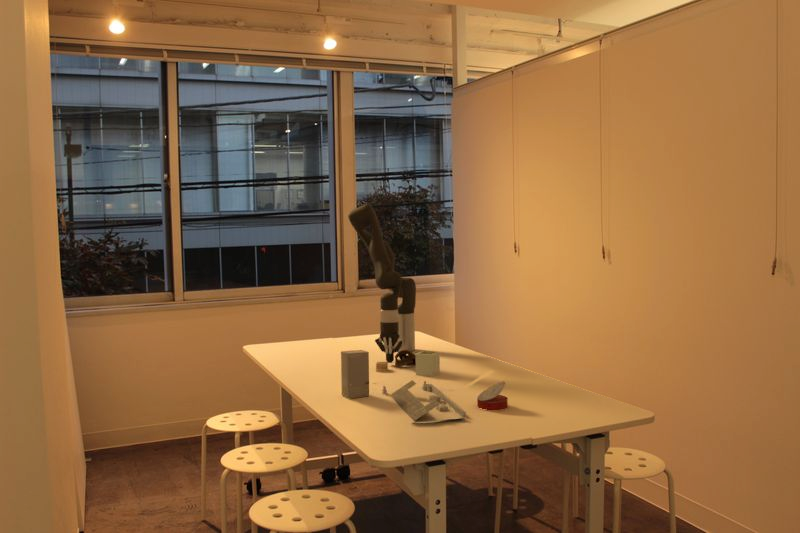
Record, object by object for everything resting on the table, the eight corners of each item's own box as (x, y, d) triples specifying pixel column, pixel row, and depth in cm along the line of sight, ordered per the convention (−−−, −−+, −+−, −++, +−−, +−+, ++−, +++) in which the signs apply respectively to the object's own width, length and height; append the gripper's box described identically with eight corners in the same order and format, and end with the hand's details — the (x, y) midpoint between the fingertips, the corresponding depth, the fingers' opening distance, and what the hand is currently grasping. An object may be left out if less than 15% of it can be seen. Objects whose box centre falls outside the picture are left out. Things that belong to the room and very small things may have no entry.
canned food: (501, 424, 251) (498, 401, 246) (473, 417, 256) (469, 394, 251) (515, 401, 259) (512, 378, 254) (487, 395, 264) (484, 372, 259)
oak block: (377, 371, 313) (377, 361, 312) (387, 371, 312) (387, 361, 312) (376, 373, 309) (376, 363, 308) (386, 373, 308) (386, 363, 308)
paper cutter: (431, 390, 281) (431, 375, 281) (471, 423, 238) (471, 405, 237) (382, 394, 277) (381, 378, 276) (413, 428, 233) (413, 410, 233)
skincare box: (348, 399, 268) (347, 353, 267) (340, 395, 275) (339, 350, 274) (370, 396, 272) (370, 351, 271) (362, 392, 279) (361, 348, 277)
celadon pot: (423, 373, 307) (423, 350, 307) (439, 374, 304) (439, 351, 304) (415, 376, 301) (415, 353, 300) (432, 378, 298) (432, 355, 297)
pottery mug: (424, 369, 317) (417, 353, 314) (404, 381, 315) (397, 365, 311) (411, 356, 328) (404, 341, 324) (392, 368, 325) (385, 353, 321)
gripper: (370, 320, 318) (371, 362, 320) (399, 322, 312) (400, 365, 314) (379, 318, 325) (380, 359, 326) (408, 320, 319) (408, 362, 320)
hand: (389, 362), depth 320 cm, fingers closed
